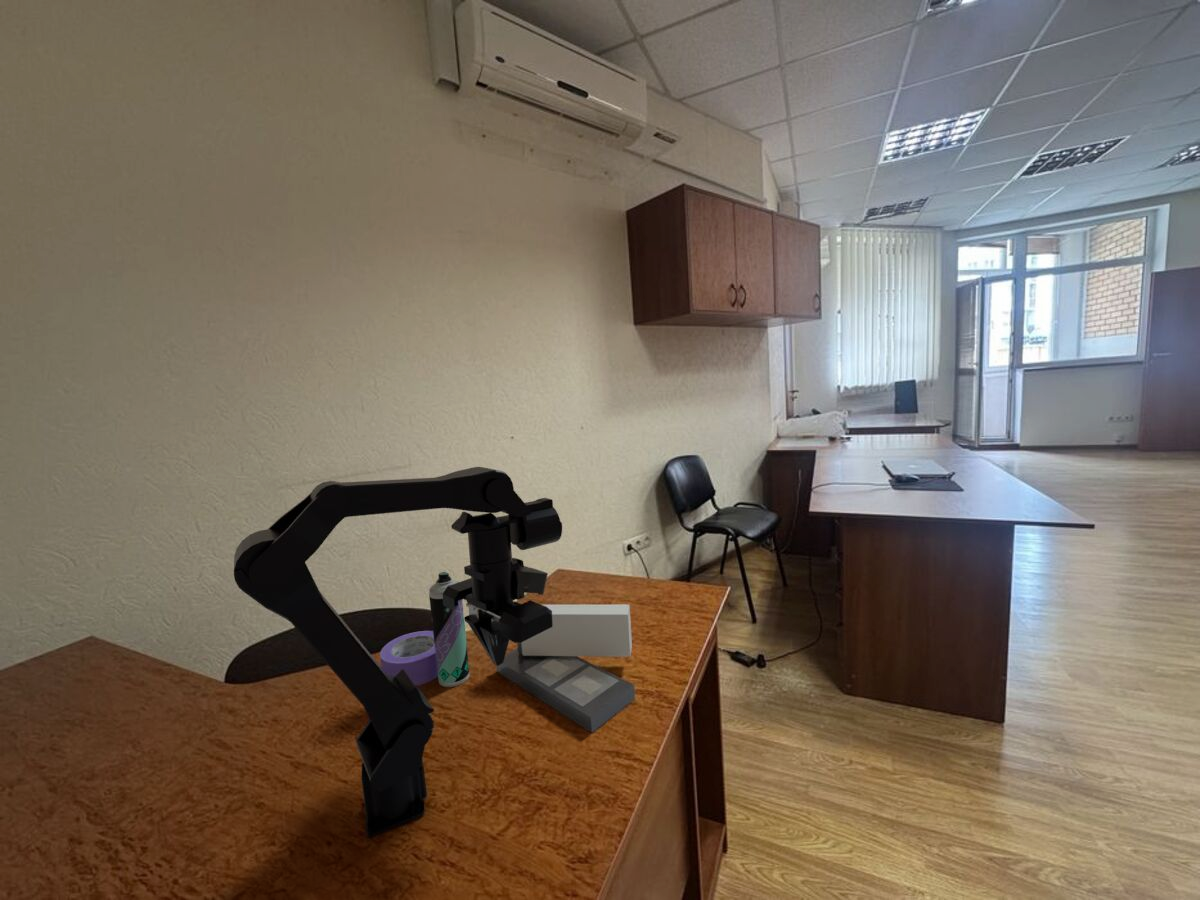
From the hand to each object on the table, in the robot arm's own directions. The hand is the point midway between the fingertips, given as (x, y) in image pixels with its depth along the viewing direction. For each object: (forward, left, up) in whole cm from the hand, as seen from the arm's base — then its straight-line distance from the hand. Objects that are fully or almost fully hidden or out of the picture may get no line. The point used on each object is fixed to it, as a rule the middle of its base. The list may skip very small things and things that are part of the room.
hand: (498, 663), depth 67 cm
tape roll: (-10, +29, -13) cm, 33 cm away
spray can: (-4, +22, -13) cm, 26 cm away
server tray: (+12, +9, -13) cm, 20 cm away
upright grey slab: (+17, +14, -10) cm, 24 cm away
